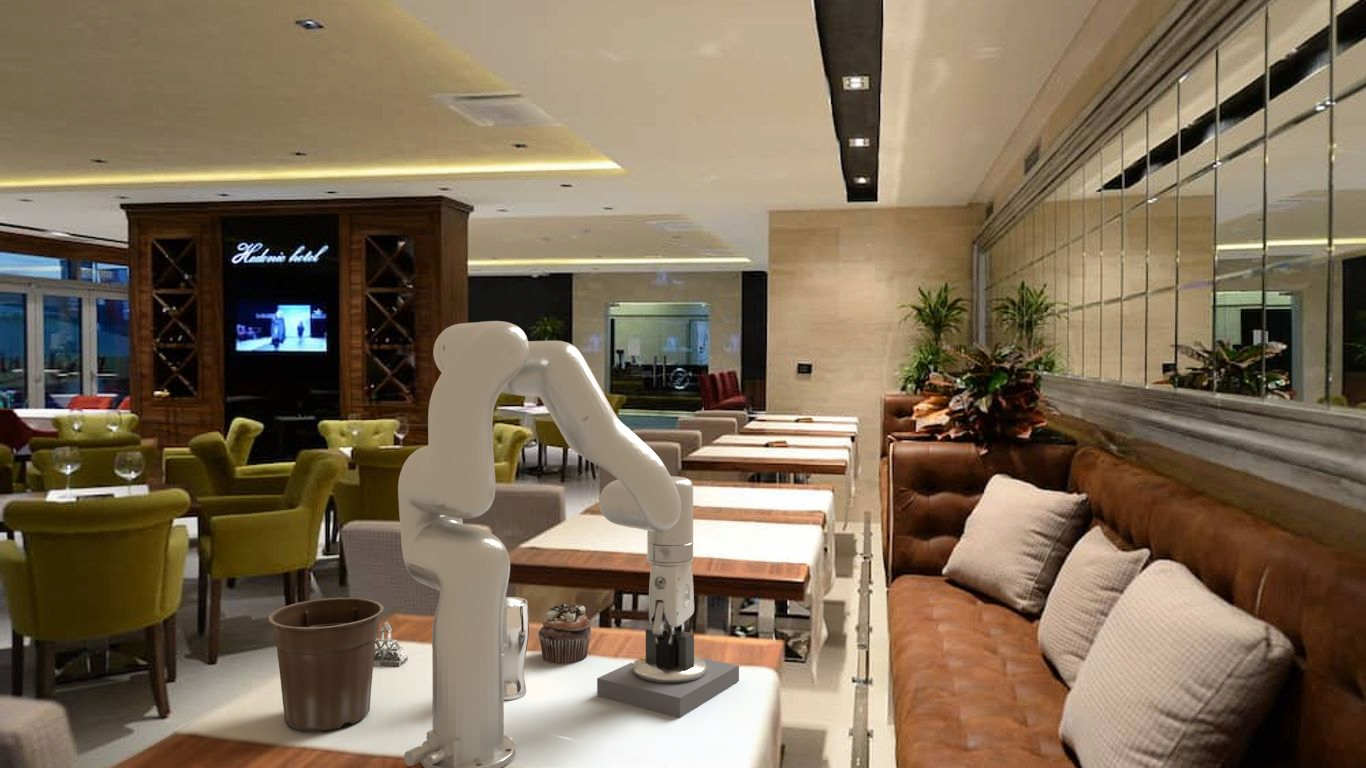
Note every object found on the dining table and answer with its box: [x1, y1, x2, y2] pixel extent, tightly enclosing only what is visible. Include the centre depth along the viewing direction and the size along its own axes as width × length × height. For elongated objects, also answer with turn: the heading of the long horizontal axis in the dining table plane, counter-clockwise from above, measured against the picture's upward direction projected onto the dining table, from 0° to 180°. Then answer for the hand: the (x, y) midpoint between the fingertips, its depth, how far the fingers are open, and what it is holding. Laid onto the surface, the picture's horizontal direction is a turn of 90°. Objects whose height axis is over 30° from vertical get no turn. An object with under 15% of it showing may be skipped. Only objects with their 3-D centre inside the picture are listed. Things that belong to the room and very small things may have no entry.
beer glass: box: [503, 596, 530, 701], centre depth 149 cm, size 7×7×15 cm
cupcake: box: [537, 601, 592, 665], centre depth 167 cm, size 10×10×10 cm
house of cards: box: [373, 621, 409, 667], centre depth 167 cm, size 9×9×8 cm
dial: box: [633, 625, 706, 683], centre depth 151 cm, size 12×12×6 cm
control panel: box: [596, 656, 740, 718], centre depth 151 cm, size 18×16×3 cm
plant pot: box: [268, 597, 384, 732], centre depth 140 cm, size 16×16×16 cm
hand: (670, 662), depth 151 cm, fingers closed on dial, 3 cm apart
